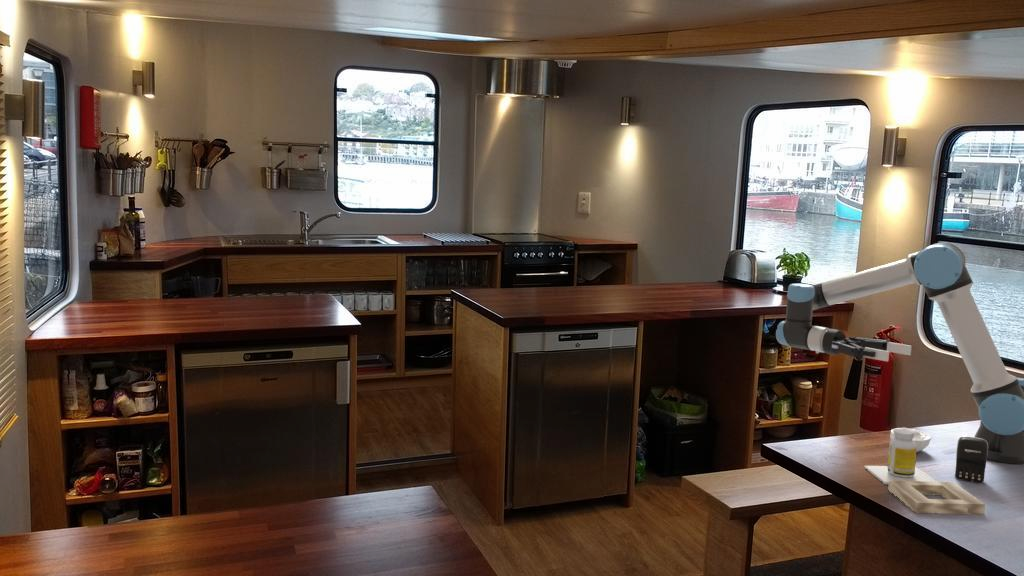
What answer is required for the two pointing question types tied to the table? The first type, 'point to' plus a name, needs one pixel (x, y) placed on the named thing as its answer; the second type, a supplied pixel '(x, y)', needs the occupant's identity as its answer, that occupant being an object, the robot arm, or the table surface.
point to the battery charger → (971, 459)
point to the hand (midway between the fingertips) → (899, 353)
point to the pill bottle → (902, 454)
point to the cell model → (917, 438)
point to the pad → (885, 476)
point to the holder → (953, 504)
